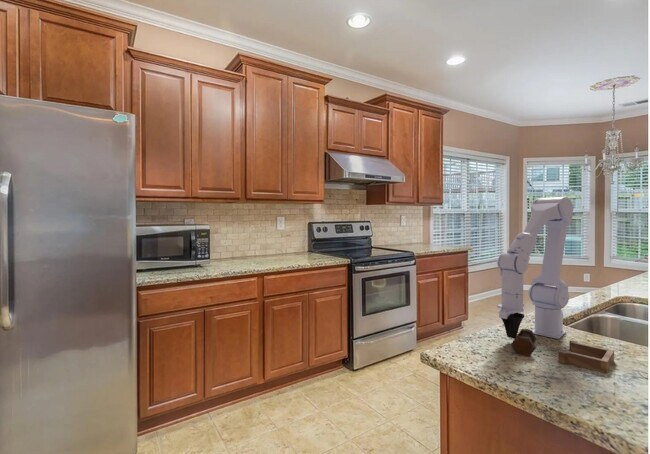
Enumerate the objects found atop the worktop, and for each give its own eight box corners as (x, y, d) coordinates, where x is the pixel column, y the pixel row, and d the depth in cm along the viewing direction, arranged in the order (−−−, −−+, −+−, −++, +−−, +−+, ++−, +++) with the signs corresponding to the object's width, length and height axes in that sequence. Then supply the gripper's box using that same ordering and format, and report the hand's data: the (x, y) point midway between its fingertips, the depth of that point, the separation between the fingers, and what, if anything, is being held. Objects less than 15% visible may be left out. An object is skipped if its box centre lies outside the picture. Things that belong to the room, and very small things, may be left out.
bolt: (530, 346, 107) (525, 361, 94) (514, 335, 109) (507, 348, 97) (542, 331, 105) (538, 345, 93) (525, 321, 108) (519, 332, 95)
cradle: (570, 349, 99) (570, 339, 99) (614, 359, 92) (614, 349, 92) (557, 362, 90) (557, 351, 90) (605, 375, 83) (606, 363, 83)
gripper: (507, 287, 112) (506, 328, 112) (488, 294, 102) (488, 339, 102) (531, 290, 107) (530, 334, 107) (514, 298, 97) (513, 346, 97)
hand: (511, 337), depth 104 cm, fingers closed
